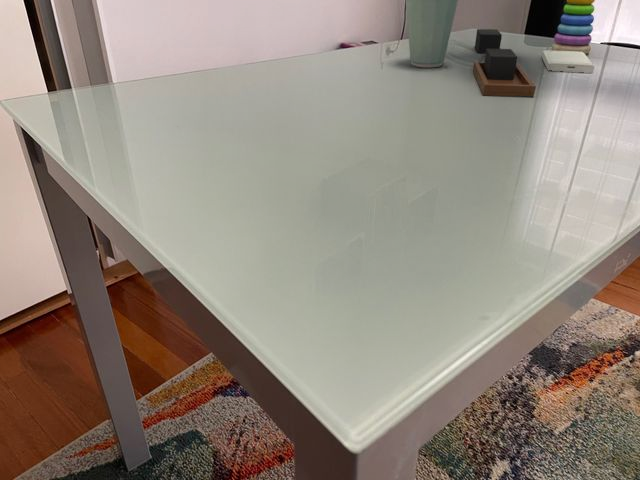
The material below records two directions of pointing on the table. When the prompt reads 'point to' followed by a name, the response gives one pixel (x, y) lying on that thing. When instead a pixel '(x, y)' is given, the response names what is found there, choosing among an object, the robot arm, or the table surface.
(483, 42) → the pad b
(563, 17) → the stacking toy
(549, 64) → the hard drive
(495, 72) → the black rectangular block
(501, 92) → the tray
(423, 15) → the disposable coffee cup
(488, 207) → the table surface
